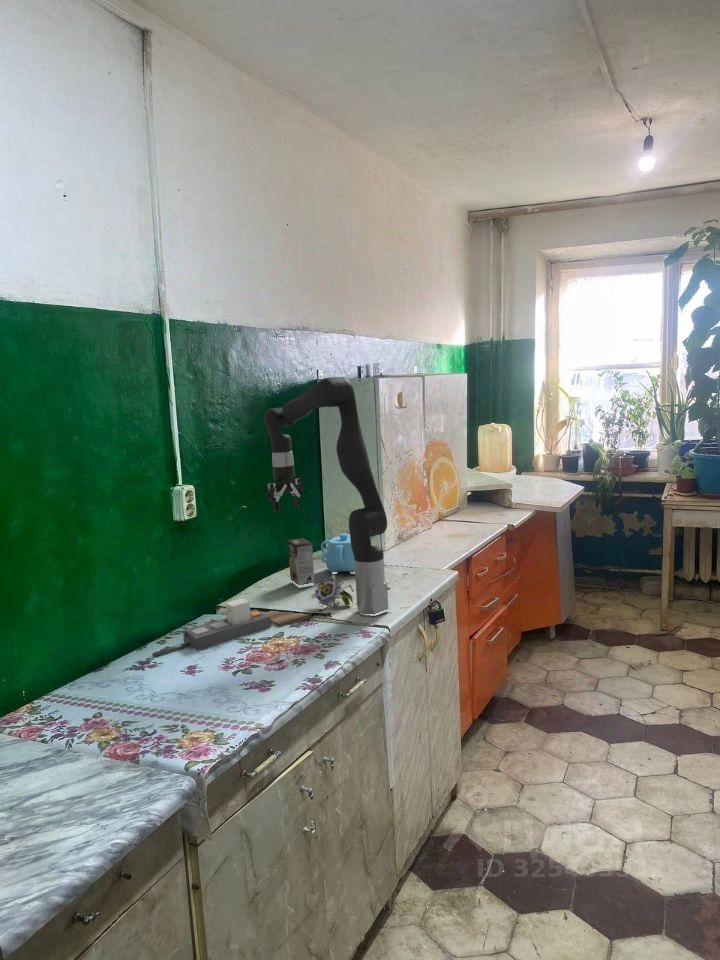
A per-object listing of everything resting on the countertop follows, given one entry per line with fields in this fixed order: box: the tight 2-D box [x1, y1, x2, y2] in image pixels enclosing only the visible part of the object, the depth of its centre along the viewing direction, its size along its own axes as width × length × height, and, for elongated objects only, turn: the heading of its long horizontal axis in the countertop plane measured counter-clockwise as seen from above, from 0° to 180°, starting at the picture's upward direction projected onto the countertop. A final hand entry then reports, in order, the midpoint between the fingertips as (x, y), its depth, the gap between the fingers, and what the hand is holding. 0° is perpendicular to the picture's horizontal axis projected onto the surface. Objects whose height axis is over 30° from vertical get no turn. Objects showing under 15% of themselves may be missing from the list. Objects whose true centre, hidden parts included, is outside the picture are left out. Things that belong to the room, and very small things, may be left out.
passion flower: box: [310, 574, 354, 608], centre depth 223 cm, size 11×11×12 cm
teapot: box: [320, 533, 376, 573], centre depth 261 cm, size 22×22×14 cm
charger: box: [220, 597, 251, 626], centre depth 204 cm, size 4×8×7 cm, turn 127°
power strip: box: [151, 609, 272, 657], centre depth 200 cm, size 9×35×4 cm, turn 127°
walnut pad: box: [263, 610, 310, 628], centre depth 215 cm, size 12×12×1 cm
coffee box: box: [287, 537, 315, 585], centre depth 247 cm, size 9×6×16 cm
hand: (287, 509), depth 243 cm, fingers open, 8 cm apart
